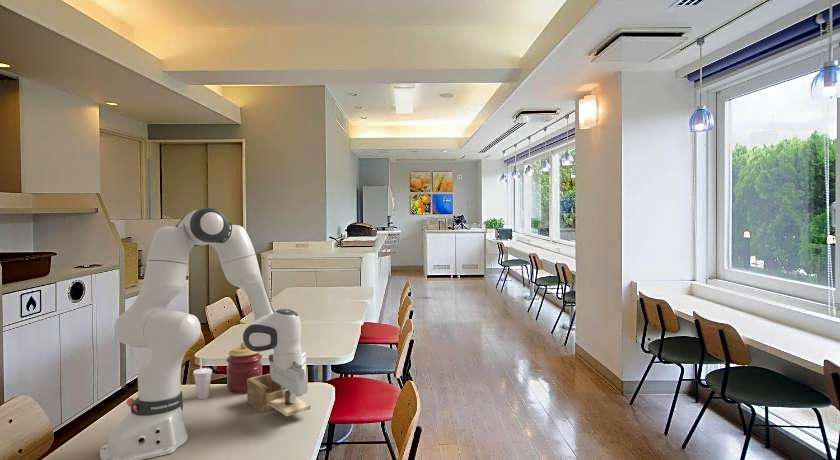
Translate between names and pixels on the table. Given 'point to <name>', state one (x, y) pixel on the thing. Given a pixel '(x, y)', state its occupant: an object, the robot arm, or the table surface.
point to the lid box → (263, 392)
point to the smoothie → (202, 381)
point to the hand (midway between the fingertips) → (289, 400)
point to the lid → (289, 405)
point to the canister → (242, 368)
